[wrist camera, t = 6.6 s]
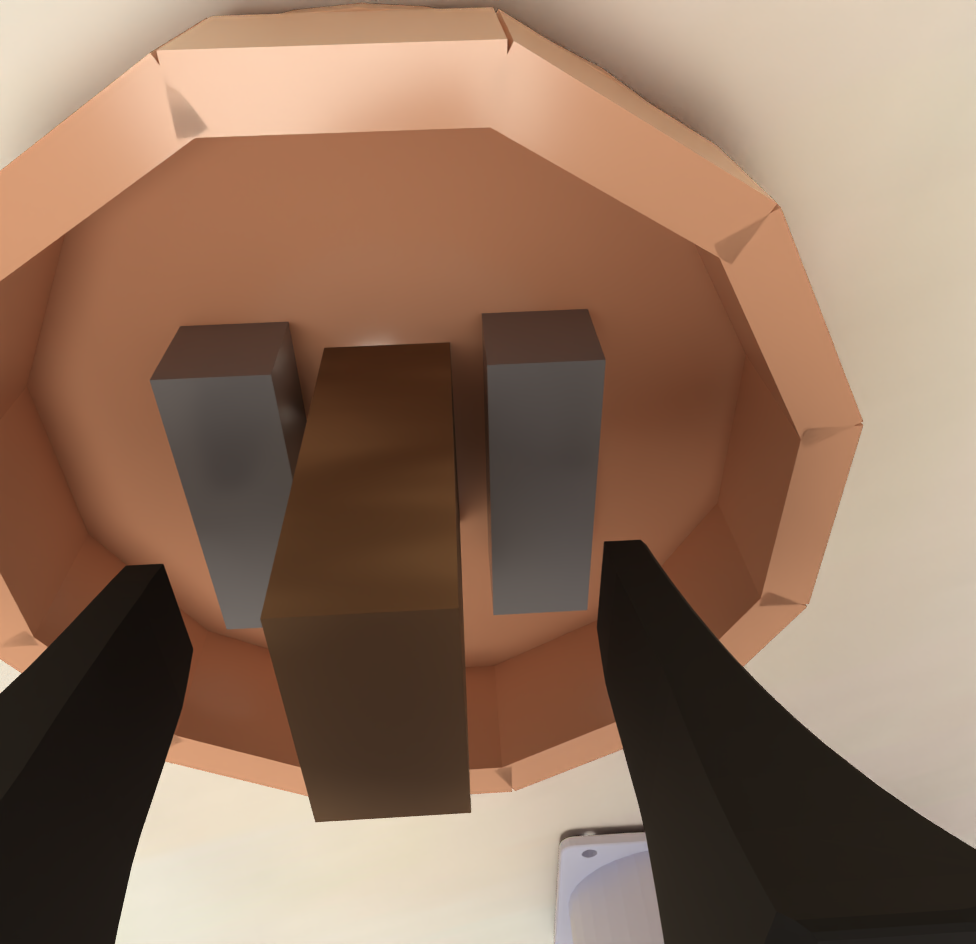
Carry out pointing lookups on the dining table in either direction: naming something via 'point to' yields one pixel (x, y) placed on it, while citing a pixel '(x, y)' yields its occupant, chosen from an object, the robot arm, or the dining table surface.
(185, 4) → the dining table surface
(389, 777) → the brown rectangular block
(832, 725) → the dining table surface
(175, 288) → the faceted copper bowl
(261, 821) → the dining table surface
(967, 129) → the dining table surface
